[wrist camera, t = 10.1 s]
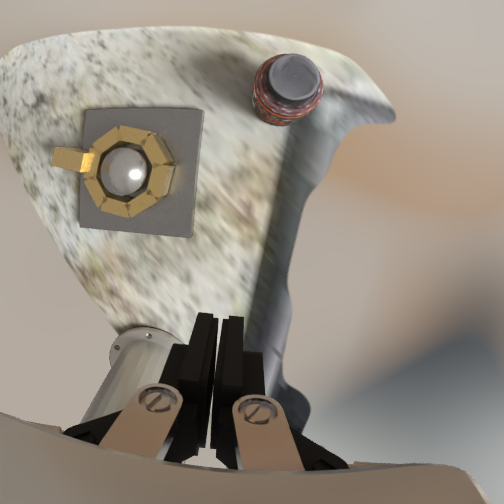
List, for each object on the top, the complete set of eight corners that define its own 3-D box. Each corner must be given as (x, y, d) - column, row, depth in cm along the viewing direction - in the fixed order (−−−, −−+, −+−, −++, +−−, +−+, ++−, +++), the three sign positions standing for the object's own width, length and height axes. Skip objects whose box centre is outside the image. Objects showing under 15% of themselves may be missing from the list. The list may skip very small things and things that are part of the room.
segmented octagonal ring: (182, 139, 31) (173, 136, 27) (160, 220, 34) (150, 227, 30) (80, 118, 30) (62, 115, 26) (64, 192, 32) (45, 197, 28)
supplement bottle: (244, 116, 32) (242, 95, 21) (263, 69, 31) (269, 31, 20) (295, 135, 33) (317, 123, 22) (313, 89, 31) (341, 59, 21)
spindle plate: (192, 235, 36) (184, 247, 31) (75, 223, 35) (54, 233, 30) (204, 111, 32) (197, 103, 27) (82, 112, 31) (60, 107, 26)
